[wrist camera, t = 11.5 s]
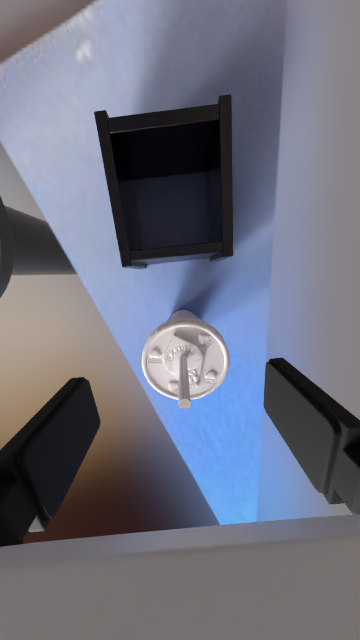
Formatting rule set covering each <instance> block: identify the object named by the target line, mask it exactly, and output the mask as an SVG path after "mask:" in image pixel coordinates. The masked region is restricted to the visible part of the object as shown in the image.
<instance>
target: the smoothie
mask: <svg viewBox="0 0 360 640" xmlns="http://www.w3.org/2000/svg"><path fill="white" fill-rule="evenodd" d="M142 368H143V372H144V375H145V377H146V379H147V380H148V382H149V383H150V384H151V386H152V387H153V388H154V389H156V390H157V391H158V392H160V393H161V394H163V395H165V396H167V397H170V398H174V399H179V407H180V408H182V409H188V408H189V407H190V406H191V399H197V398H200V397H203V396H205V395H207V394H209V393H211V392H212V391H214V390H215V389H216V388H217V387H218V386H219V385H220V384H221V383H222V382H223V380H224V378H225V377H226V375H227V372H228V369H229V352H228V349H227V346H226V344H225V342H224V340H223V338H222V336H221V335H220V333H219V332H218V331H217V330H216V329H215V328H214V327H213V326H211V325H210V324H208V323H207V322H205V321H202V320H200V319H199V318H198V317H196V316H195V315H194V314H193V313H192V312H190V311H188V310H179V311H176V312H175V313H173V314H172V316H171V317H170V318H169V319H168V320H167V321H166V322H165V323H163V324H161V325H160V326H159V327H157V328H156V329H155V330H154V331H153V332H152V333H151V335H150V336H149V338H148V339H147V341H146V344H145V347H144V350H143V353H142Z"/></svg>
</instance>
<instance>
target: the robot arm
mask: <svg viewBox="0 0 360 640" xmlns="http://www.w3.org/2000/svg"><path fill="white" fill-rule="evenodd" d="M264 408H265V410H266V413H267V414H268V416H269V417H270V419H271V420H272V422H273V423H274V425H275V427H276V428H277V430H278V431H279V433H280V434H281V436H282V437H283V439H284V441H285V442H286V444H287V445H288V447H289V448H290V450H291V452H292V453H293V455H294V456H295V458H296V459H297V461H298V463H299V464H300V466H301V467H302V469H303V470H304V472H305V474H306V475H307V477H308V478H309V480H310V481H311V483H312V484H313V486H314V487H315V489H316V490H317V491H318V492H320V493H322V494H323V495H324V497H325V498H326V499H327V501H328V503H329V504H340V503H345V504H346V505H347V507H348V508H349V510H350V511H351V512H352V515H345V516H328V517H312V518H301V519H289V520H277V521H265V522H253V523H241V524H229V525H218V526H208V527H197V528H185V529H174V530H163V531H152V532H141V533H130V534H120V535H109V536H100V537H90V538H79V539H68V540H59V541H49V542H39V543H29V544H23V538H24V536H25V535H26V533H27V531H28V530H29V531H30V532H35V531H44V530H45V529H46V527H47V525H48V524H49V522H50V520H51V518H52V517H54V516H55V515H56V513H57V512H58V510H59V508H60V506H61V504H62V502H63V500H64V498H65V496H66V494H67V492H68V490H69V488H70V486H71V484H72V482H73V480H74V478H75V476H76V474H77V471H78V470H79V467H80V465H81V463H82V461H83V459H84V457H85V455H86V453H87V451H88V449H89V447H90V445H91V443H92V441H93V439H94V437H95V435H96V433H97V431H98V429H99V427H100V418H99V414H98V411H97V407H96V404H95V400H94V397H93V394H92V390H91V387H90V383H89V381H88V380H86V379H85V378H84V377H79V378H72V379H70V380H69V381H68V382H67V383H66V384H65V385H64V386H63V387H62V388H61V389H60V390H59V391H58V392H57V393H56V394H55V395H54V396H53V397H52V398H51V399H50V400H49V401H48V402H47V403H46V404H45V405H44V406H43V407H42V408H41V409H40V411H38V413H36V414H35V415H34V417H32V418H31V420H30V421H29V422H28V423H27V424H26V425H25V426H24V427H23V428H22V429H21V430H20V431H19V432H18V433H17V434H16V435H15V436H14V437H13V438H12V439H11V440H10V441H9V442H8V443H7V444H6V445H5V446H4V447H3V448H2V449H1V450H0V640H360V420H359V419H357V418H356V417H355V416H354V415H352V414H351V413H350V412H349V411H348V410H346V409H345V408H344V407H343V406H341V405H340V404H339V403H338V402H336V401H335V400H334V399H333V398H331V397H330V396H329V395H328V394H327V393H325V392H324V391H323V390H322V389H320V388H319V387H318V386H317V385H315V384H314V383H313V382H312V381H310V380H309V379H308V378H307V377H306V376H304V375H303V374H302V373H301V372H299V371H298V370H297V369H296V368H295V367H293V366H292V365H291V364H290V363H288V362H287V361H286V360H285V359H283V358H274V359H270V360H269V362H267V363H266V371H265V389H264Z"/></svg>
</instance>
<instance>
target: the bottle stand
mask: <svg viewBox="0 0 360 640" xmlns="http://www.w3.org/2000/svg"><path fill="white" fill-rule="evenodd" d="M94 114H95V120H96V125H97V131H98V136H99V142H100V147H101V152H102V158H103V163H104V169H105V174H106V180H107V185H108V191H109V196H110V202H111V207H112V213H113V218H114V224H115V229H116V235H117V240H118V246H119V251H120V257H121V262H122V267H125V268H135V269H144V268H146V265H147V264H157V263H166V262H176V261H186V260H196V259H205V258H210V262H212V261H219V260H222V259H225V258H228V257H231V256H233V203H232V107H231V94H229V95H221V96H219V99H218V104H215V105H207V106H199V107H191V108H183V109H175V110H168V111H160V112H152V113H144V114H136V115H128V116H121V117H113V118H109V116H108V114H107V112H106V110H104V111H96V112H94ZM198 172H206V178H207V200H208V222H209V242H207V243H198V244H188V245H179V246H169V247H160V248H151V249H143V243H142V236H141V229H140V222H139V215H138V208H137V202H136V195H135V188H134V181H133V180H138V179H147V178H155V177H164V176H173V175H181V174H190V173H198Z"/></svg>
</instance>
